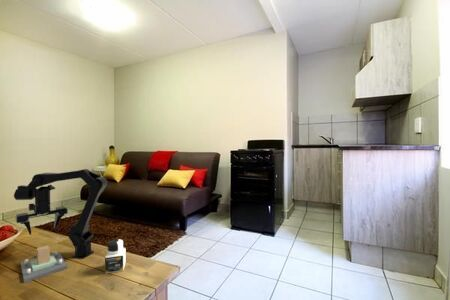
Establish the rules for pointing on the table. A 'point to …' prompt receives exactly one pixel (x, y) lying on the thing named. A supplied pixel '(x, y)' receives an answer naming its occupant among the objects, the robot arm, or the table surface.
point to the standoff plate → (30, 274)
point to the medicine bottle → (115, 256)
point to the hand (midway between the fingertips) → (43, 231)
